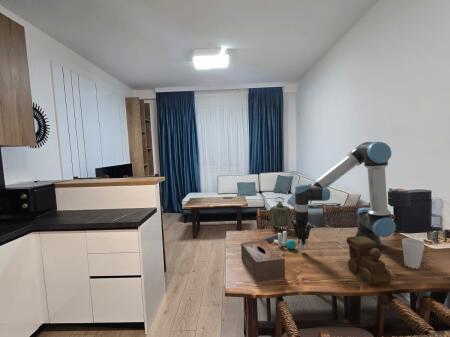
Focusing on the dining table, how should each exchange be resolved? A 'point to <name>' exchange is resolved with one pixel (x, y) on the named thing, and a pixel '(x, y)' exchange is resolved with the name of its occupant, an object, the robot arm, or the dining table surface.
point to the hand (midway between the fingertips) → (301, 249)
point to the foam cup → (412, 252)
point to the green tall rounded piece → (280, 215)
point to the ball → (291, 244)
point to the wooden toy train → (367, 261)
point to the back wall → (270, 238)
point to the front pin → (282, 243)
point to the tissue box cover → (262, 260)
